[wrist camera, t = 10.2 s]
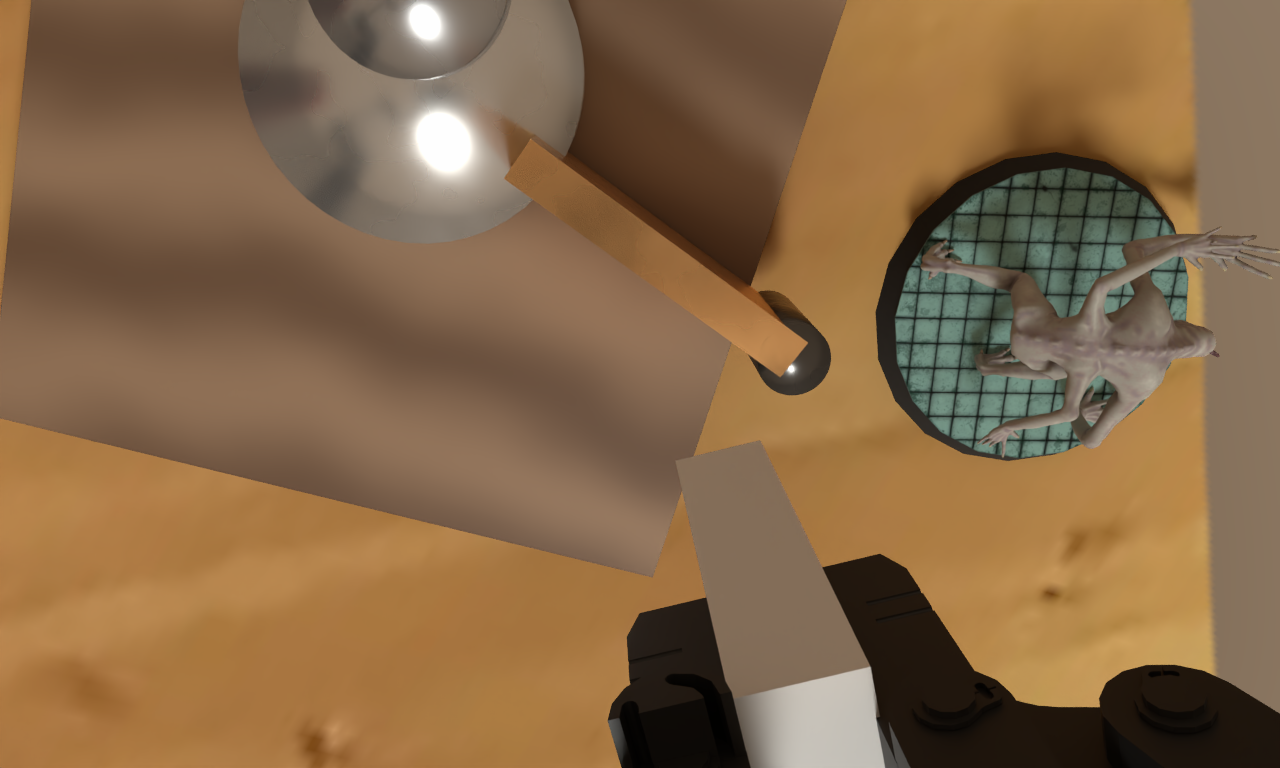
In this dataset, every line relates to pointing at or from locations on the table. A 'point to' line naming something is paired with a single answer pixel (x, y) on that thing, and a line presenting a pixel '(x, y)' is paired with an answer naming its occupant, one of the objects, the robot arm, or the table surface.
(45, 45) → the level stand
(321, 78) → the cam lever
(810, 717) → the robot arm
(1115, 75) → the table surface
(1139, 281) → the figurine
